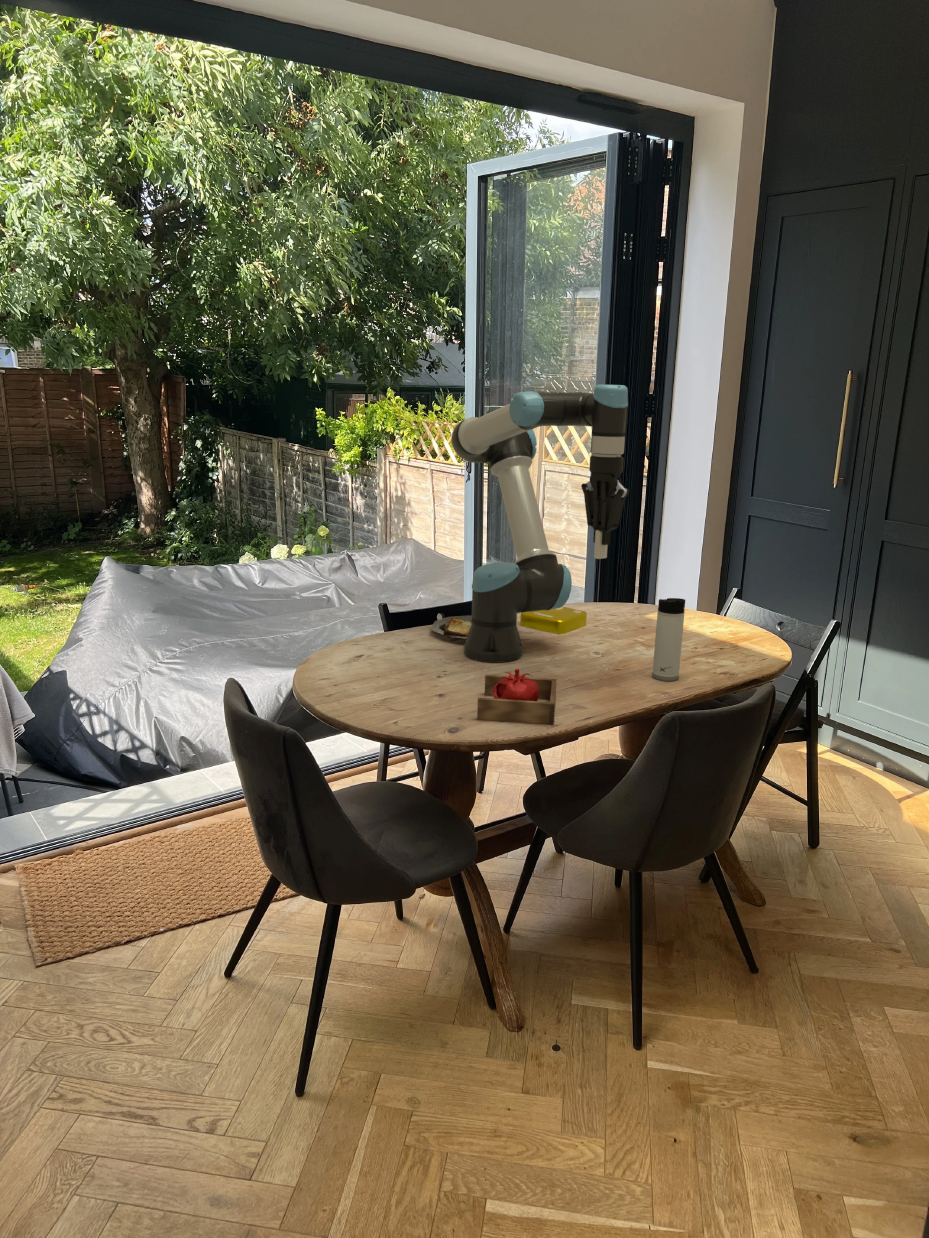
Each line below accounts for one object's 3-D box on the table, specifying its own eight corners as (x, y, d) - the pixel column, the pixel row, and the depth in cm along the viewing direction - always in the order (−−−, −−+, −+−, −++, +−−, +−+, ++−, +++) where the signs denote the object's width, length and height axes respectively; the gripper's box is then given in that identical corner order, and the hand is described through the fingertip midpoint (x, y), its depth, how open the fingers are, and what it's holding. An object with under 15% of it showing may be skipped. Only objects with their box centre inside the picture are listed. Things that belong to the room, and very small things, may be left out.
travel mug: (664, 683, 211) (671, 601, 206) (646, 675, 216) (653, 595, 211) (684, 679, 214) (692, 599, 208) (666, 671, 219) (673, 593, 214)
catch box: (477, 719, 186) (477, 699, 185) (484, 693, 201) (485, 674, 200) (553, 724, 184) (554, 704, 183) (555, 698, 199) (556, 679, 198)
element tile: (517, 626, 258) (518, 610, 257) (546, 616, 269) (547, 601, 268) (560, 636, 249) (561, 620, 248) (588, 626, 260) (589, 610, 259)
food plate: (509, 648, 235) (509, 635, 234) (423, 643, 239) (423, 630, 238) (520, 626, 259) (520, 614, 258) (442, 621, 263) (442, 610, 262)
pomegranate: (541, 704, 196) (544, 664, 194) (533, 719, 187) (537, 677, 184) (497, 698, 198) (499, 658, 196) (488, 713, 189) (490, 672, 186)
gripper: (640, 457, 197) (632, 561, 203) (597, 452, 207) (591, 551, 213) (617, 458, 193) (609, 564, 199) (574, 453, 203) (569, 554, 209)
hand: (600, 557), depth 206 cm, fingers closed
